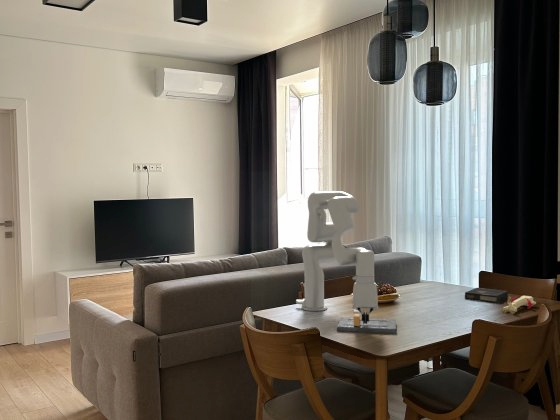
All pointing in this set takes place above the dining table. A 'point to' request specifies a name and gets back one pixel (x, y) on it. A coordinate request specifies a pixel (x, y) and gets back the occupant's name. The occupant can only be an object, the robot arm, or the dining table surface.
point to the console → (368, 326)
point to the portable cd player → (486, 295)
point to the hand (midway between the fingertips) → (365, 323)
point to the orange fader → (356, 319)
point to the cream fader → (356, 311)
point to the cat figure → (518, 303)
